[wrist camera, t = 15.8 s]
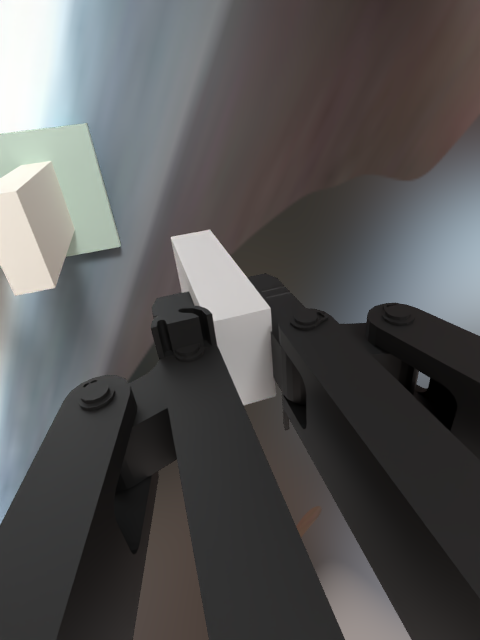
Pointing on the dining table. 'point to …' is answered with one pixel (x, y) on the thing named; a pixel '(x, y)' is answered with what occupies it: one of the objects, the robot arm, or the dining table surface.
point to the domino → (33, 228)
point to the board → (68, 180)
